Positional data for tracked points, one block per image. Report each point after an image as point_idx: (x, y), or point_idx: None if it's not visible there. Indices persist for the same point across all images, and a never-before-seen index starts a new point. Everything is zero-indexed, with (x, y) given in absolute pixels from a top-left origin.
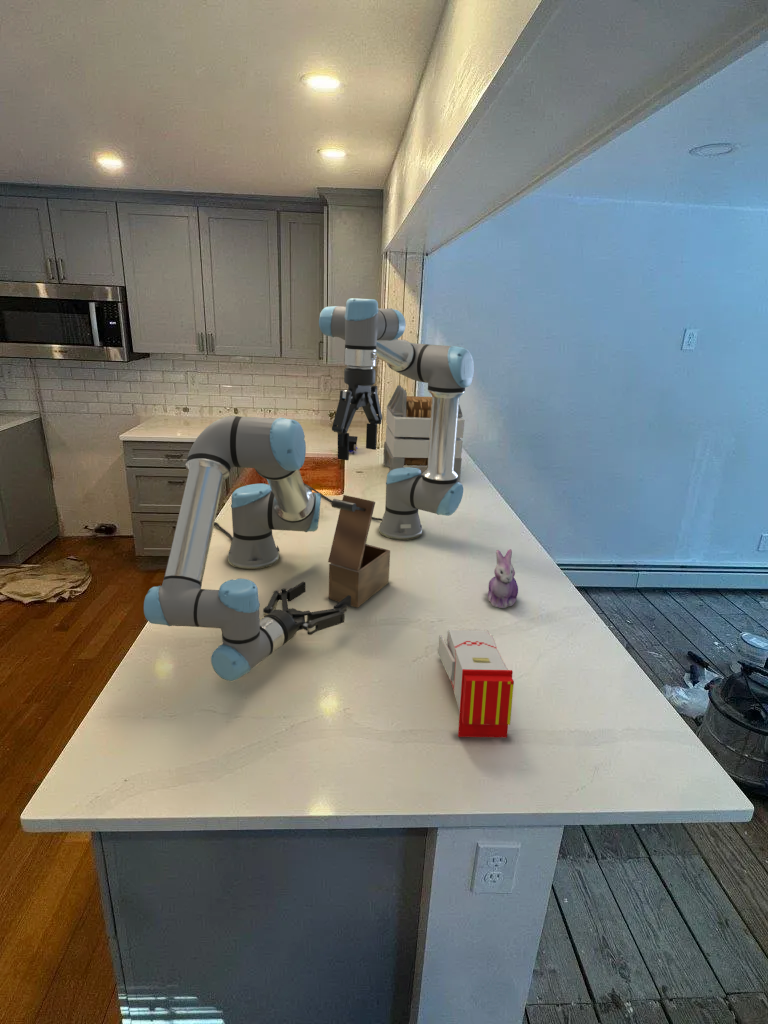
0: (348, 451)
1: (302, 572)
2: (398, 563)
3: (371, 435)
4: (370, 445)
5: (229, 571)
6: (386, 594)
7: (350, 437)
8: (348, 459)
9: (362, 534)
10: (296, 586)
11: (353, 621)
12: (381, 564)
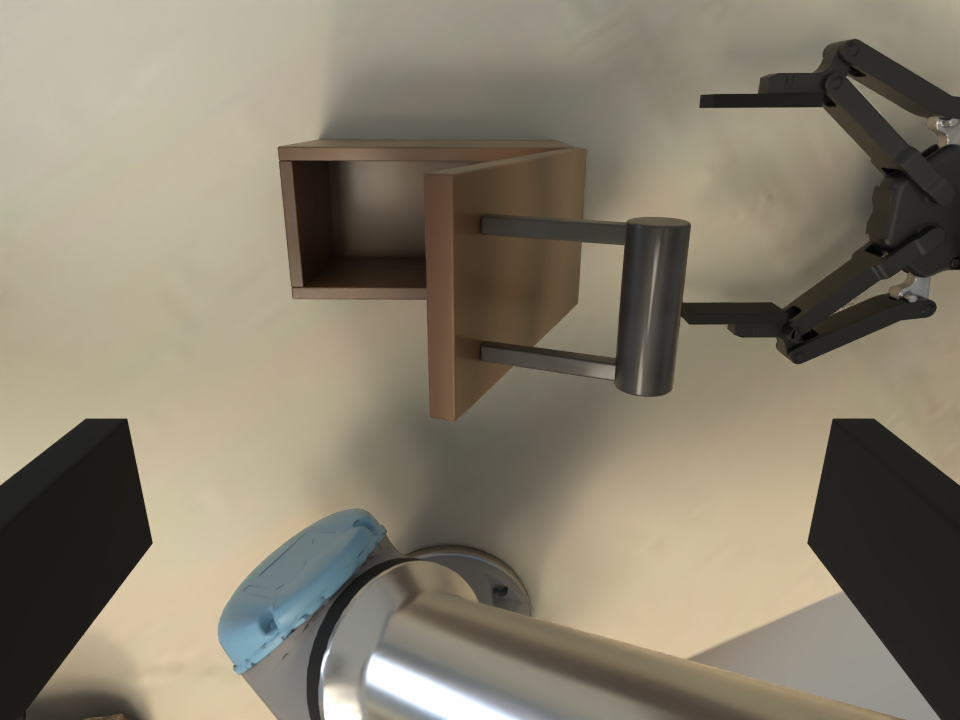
0: (910, 478)
1: (437, 442)
2: (141, 192)
3: (12, 608)
4: (114, 511)
5: (559, 612)
6: (405, 98)
7: None
8: (842, 420)
9: (536, 180)
10: (737, 319)
11: (646, 101)
12: (369, 144)
